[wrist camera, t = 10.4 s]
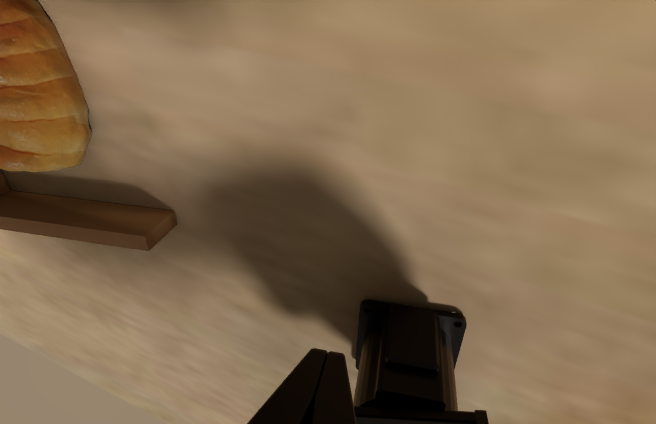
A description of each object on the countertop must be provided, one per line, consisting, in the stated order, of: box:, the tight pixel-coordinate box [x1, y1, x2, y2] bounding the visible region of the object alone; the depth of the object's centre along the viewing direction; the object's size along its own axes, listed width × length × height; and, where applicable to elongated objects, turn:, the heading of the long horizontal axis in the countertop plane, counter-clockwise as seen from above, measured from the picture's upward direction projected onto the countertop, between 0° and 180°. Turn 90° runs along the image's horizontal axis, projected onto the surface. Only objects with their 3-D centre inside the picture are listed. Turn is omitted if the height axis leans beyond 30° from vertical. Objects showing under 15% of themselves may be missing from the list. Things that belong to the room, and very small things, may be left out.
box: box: [0, 169, 177, 251], centre depth 20 cm, size 16×14×3 cm
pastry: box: [0, 0, 92, 172], centre depth 20 cm, size 9×7×4 cm
